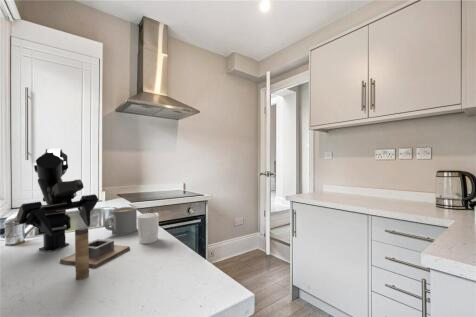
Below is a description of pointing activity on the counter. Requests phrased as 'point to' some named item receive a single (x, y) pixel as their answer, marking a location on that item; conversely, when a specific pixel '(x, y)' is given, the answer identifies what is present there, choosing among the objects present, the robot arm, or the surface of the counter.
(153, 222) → the white cup
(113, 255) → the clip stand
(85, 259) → the wooden peg
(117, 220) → the coffee mug
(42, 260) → the counter surface
